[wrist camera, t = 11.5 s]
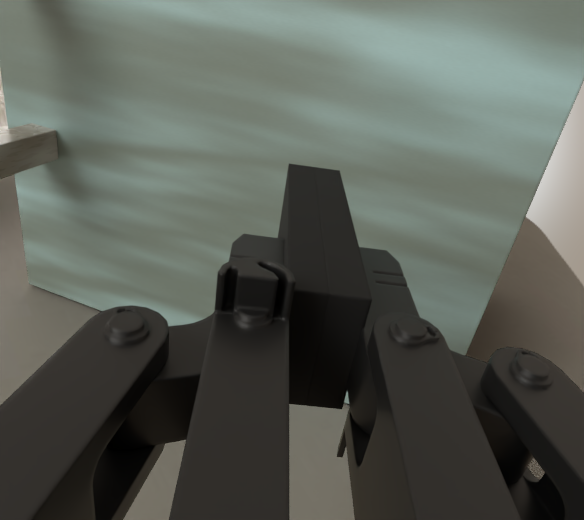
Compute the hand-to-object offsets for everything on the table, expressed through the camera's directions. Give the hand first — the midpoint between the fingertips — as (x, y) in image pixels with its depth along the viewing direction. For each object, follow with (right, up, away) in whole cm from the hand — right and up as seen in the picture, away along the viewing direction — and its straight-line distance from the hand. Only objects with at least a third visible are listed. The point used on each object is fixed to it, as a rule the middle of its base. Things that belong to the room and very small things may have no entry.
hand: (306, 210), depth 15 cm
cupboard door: (-6, -8, +12) cm, 15 cm away
